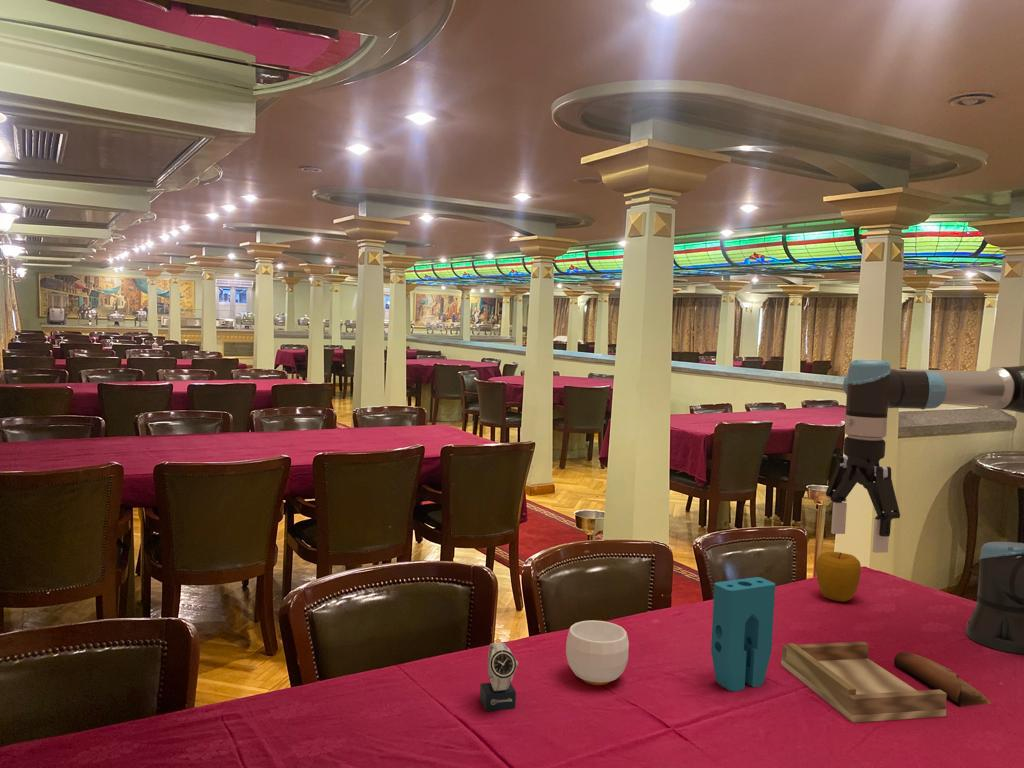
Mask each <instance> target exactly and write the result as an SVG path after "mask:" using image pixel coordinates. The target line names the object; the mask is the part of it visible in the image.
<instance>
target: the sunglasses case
mask: <svg viewBox="0 0 1024 768" xmlns="http://www.w3.org/2000/svg"><path fill="white" fill-rule="evenodd" d="M893 664H894V666H896V667H898V668H900V669H901V670H903V671H905V672H907V673H909V674H911V675H913V676H916V677H917V678H918V679H920V680H921V681H923V682H924V683H925V684H927V685H929V686H930V687H932V688H933V689H934V690H939V689H940V690H942V691H943V692H945V693H947V696H946V698H949V699H951V701H953V702H954V703H956V704H958V706H960V707H968V706H969V707H970V706H980V705H987V704H988V705H989V704H991V705H992V702H991V700H990V699H988V697H986V696H985V695H984V694H983V693H982V692H980V690H978V689H976V688H975V687H973V686H972V685H971V684H969V683H968V682H966V681H965V680H964V679H962V678H960V677H959V674H958V673H956V672H954V671H952V670H951V669H950V668H947V667H946V666H944V665H942V664H940V663H938V662H936V661H933V660H932V659H929V658H928V657H924V656H922V655H919V654H915V653H912V652H908V651H907V652H906V651H900V652H898V654H896V656H895V657H894V659H893Z"/></svg>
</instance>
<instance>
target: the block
mask: <svg viewBox="0 0 1024 768" xmlns="http://www.w3.org/2000/svg"><path fill="white" fill-rule="evenodd" d="M713 587H714V588H713V602H712V603H713V604H712V605H713V606H712V623H711V643H710V653H711V659H712V665H713V670H714V675H715V680H716V681H715V682H716V683H717V684H718V685H720V686H721V687H723V688H725V689H726V690H728V691H729V692H738V691H743V690H745V687H746V685H748V686H750V687H752V688H757V687H761V686H764V682H765V680H766V679H765V678H766V675H767V671H768V666H769V663H770V658H771V654H772V652H773V651H772V649H773V634H774V633H773V631H774V617H775V601H776V600H775V597H776V583H775V582H772V581H771V580H768V579H765V578H763V577H759V576H758V577H757V576H755V577H747V578H740V579H733V580H732V579H731V580H725V581H724V580H723V581H717V582H714V585H713ZM745 684H746V685H745Z"/></svg>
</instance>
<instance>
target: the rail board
mask: <svg viewBox="0 0 1024 768" xmlns="http://www.w3.org/2000/svg"><path fill="white" fill-rule="evenodd" d="M869 646H870V645H869V643H867V642H865V641H851V642H830V643H829V642H827V643H825V642H824V643H806V644H795V643H786V644H785V645H784V644H783V645H782V650H781V651H782V652H781V653H782V654H781V659H780V660H781V661H780V665H781V666H782V667H783V668H785V669H786V670H787V671H788V672H790V673H791V674H792V675H793V676H794V677H796V678H797V679H798V680H800V681H801V682H802V683H803V684H805V686H807V687H808V688H810V690H811V691H813V692H814V693H816V695H818V696H819V697H820V698H821V699H822V700H824V701H826V702H827V703H828V704H829V705H830V706H831V707H833V708H834V709H835V710H836V711H837V712H839V713H840V714H842V715H843V716H844V717H845V718H846V719H847V720H849V721H850V722H851V723H867V722H883V721H894V720H908V719H909V720H910V719H924V718H925V719H926V718H939V717H941V718H942V717H946V716H947V709H946V707H947V693H945V692H943V691H942V690H940V689H939V690H936V689H928V690H927V689H926V690H924V689H923V690H916V688H914V687H913V686H911V685H909V684H908V683H907V682H905V681H903V680H902V679H900V678H898V677H897V676H896V675H894V674H893V673H891V672H889V671H888V670H886V669H885V668H883V667H881V666H880V665H878V664H877V663H875V662H874V661H873V660H871V659H869V649H870V647H869Z"/></svg>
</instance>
